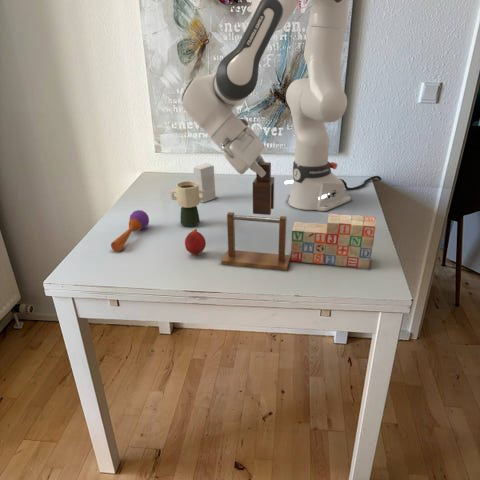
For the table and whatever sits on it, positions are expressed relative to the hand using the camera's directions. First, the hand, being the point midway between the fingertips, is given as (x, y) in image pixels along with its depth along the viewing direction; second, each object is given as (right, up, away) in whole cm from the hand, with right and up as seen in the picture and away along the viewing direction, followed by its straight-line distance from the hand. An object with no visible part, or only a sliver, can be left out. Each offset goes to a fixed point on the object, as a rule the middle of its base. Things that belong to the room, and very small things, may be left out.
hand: (265, 173), depth 134 cm
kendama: (-40, -15, +16) cm, 46 cm away
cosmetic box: (-20, +3, +42) cm, 47 cm away
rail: (-3, -24, +1) cm, 24 cm away
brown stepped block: (0, -9, +6) cm, 11 cm away
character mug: (-23, -10, +24) cm, 35 cm away
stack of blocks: (+18, -24, +1) cm, 30 cm away
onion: (-20, -22, +5) cm, 30 cm away
